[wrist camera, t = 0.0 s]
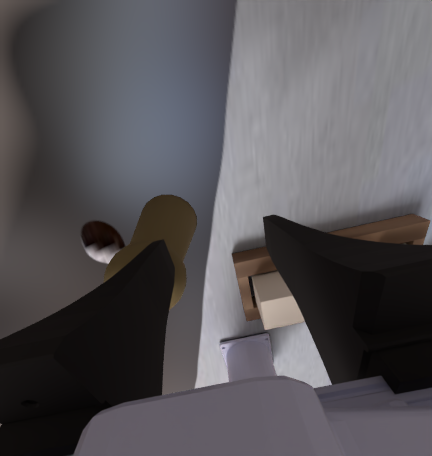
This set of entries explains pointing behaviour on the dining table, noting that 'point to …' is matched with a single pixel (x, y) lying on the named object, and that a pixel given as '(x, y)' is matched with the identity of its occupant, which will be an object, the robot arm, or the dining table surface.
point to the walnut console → (377, 231)
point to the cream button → (275, 301)
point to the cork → (161, 237)
